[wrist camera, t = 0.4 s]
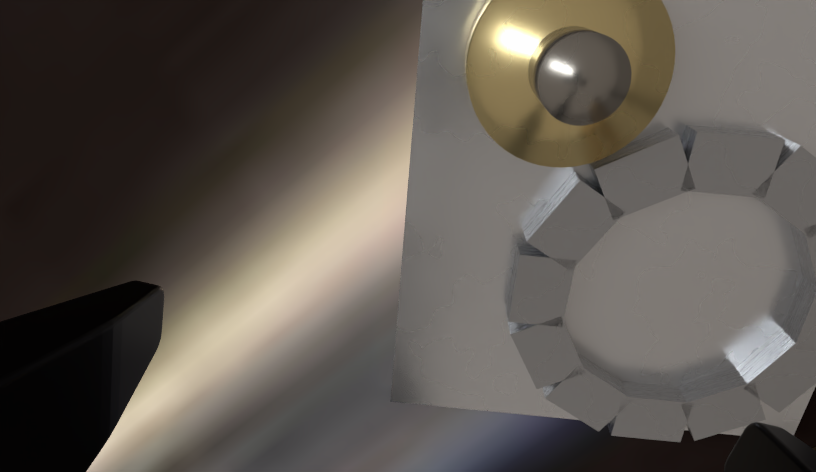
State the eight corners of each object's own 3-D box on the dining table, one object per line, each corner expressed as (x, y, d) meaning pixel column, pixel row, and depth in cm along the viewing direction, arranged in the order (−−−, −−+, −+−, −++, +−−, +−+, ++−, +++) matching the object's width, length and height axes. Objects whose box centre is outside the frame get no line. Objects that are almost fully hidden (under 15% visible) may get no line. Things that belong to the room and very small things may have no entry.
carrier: (776, 420, 26) (851, 520, 21) (392, 383, 26) (381, 474, 21) (982, -61, 18) (1173, -73, 13) (432, -106, 18) (429, -134, 14)
